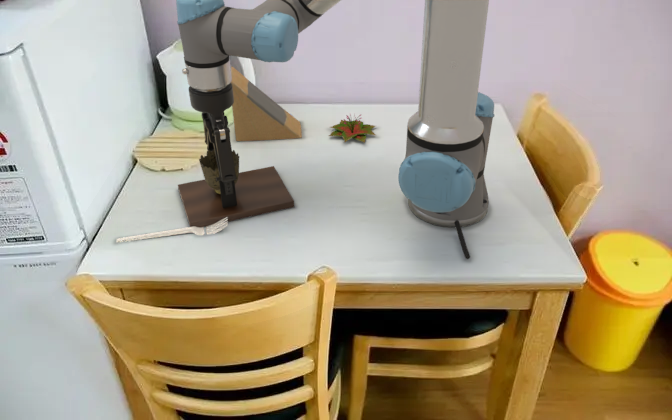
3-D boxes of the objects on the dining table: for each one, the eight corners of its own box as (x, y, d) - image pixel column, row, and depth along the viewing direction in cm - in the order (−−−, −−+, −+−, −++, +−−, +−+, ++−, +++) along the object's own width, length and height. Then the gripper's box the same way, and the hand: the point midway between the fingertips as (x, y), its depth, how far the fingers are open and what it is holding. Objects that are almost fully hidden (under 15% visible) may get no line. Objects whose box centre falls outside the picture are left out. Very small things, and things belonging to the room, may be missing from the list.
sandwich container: (302, 138, 138) (300, 77, 129) (235, 141, 137) (228, 80, 128) (300, 121, 145) (298, 62, 136) (237, 124, 144) (230, 65, 135)
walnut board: (294, 207, 115) (294, 200, 115) (190, 229, 110) (189, 223, 109) (274, 171, 126) (273, 165, 125) (178, 190, 120) (177, 184, 119)
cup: (226, 207, 113) (222, 171, 108) (196, 196, 116) (191, 160, 111) (250, 188, 118) (247, 153, 113) (221, 178, 121) (216, 143, 116)
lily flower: (337, 118, 146) (337, 101, 144) (384, 126, 143) (385, 108, 140) (319, 140, 137) (319, 122, 135) (369, 149, 134) (369, 131, 131)
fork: (117, 238, 108) (115, 229, 107) (228, 223, 112) (227, 215, 111) (116, 249, 106) (114, 240, 105) (229, 233, 109) (228, 225, 108)
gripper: (178, 65, 110) (195, 169, 123) (199, 113, 94) (216, 227, 107) (218, 59, 112) (231, 163, 125) (246, 105, 96) (257, 219, 109)
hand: (224, 192), depth 116 cm, fingers open, 9 cm apart
